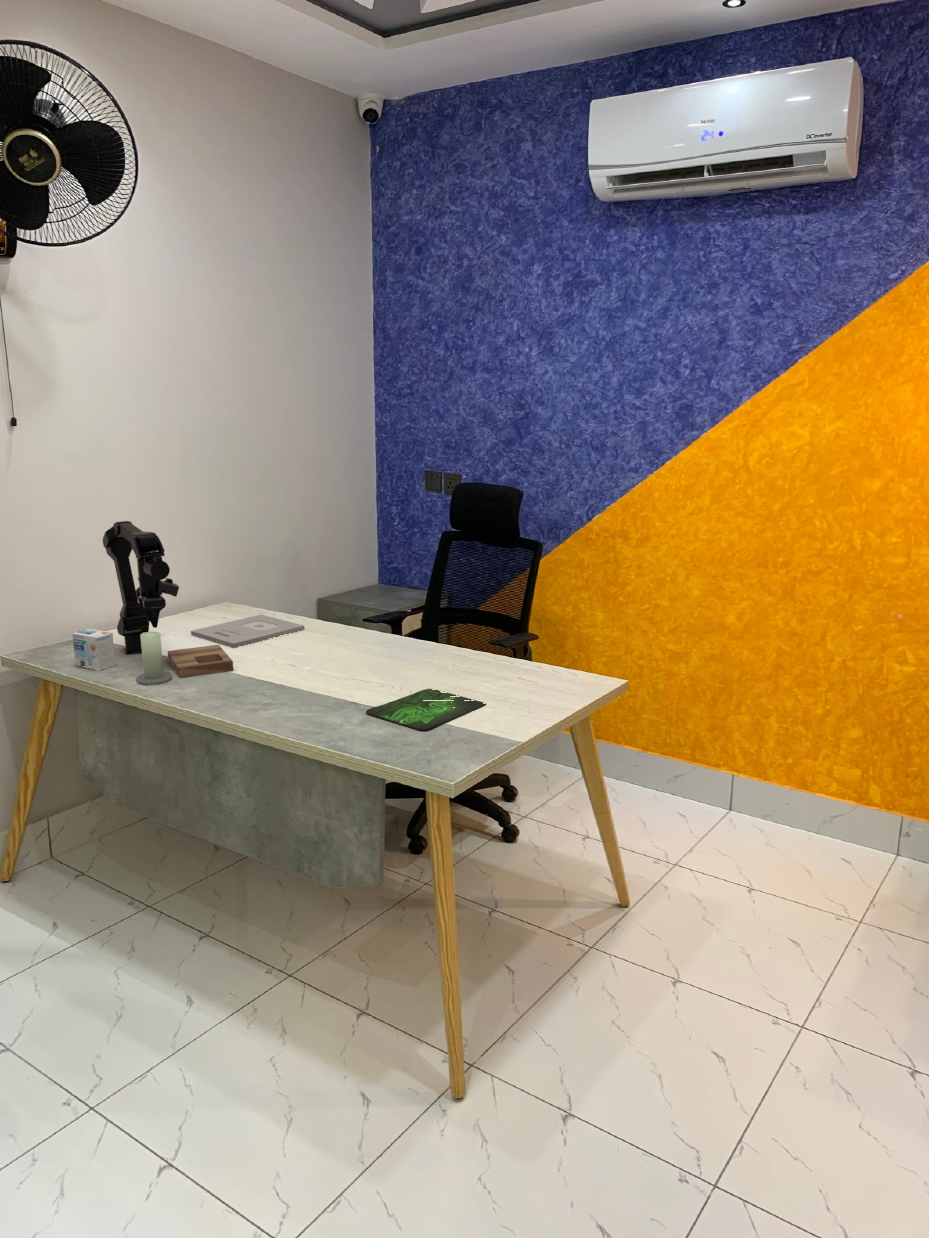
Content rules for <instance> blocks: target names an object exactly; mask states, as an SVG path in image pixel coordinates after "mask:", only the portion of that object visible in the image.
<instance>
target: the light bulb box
mask: <svg viewBox="0 0 929 1238" xmlns="http://www.w3.org/2000/svg"><path fill="white" fill-rule="evenodd" d="M113 634H114V633H113V632H112V631H111V632H110V631H105V630H99V629H94V628H86V629H84V630H79V631H76V632H73V633H72V641H73V650H74V659H75V660H74V662H75V665H76V664H77V665H80V666H86V667H91V668H94V669H104V668H105V667H110V666H113V665H115V664H116V656H115V654H116V653H115V647H114V637H113ZM113 667H114V666H113ZM110 668H111V667H110ZM104 670H105V669H104Z"/></svg>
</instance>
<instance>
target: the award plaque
mask: <svg viewBox="0 0 929 1238" xmlns="http://www.w3.org/2000/svg"><path fill="white" fill-rule="evenodd" d="M302 630H303V631H305V625H303V624H299V623H295V622H291V621H288V620H285V619H279V618H276V617H272V616H268V615H265V614H257V615H253V616H252V615H251V616H247V617H244V618H240V619H236V620H231V621H227V622H223V623H218V624H215V625H211V626H206V627H203V628H202V627H201V628H197V629H193V630H190V635H191V636H192V637H196V638H199V639H202V640H205V641H208V642H211V643H215V644H217V645H220V646H221V645H222V646H224V645H225V647H228V646H229V647H228V648H231V649H235V648H236V649H237V648H240V647H239V646H241V647H245V646H249V645H252V643H253V644H256V643H255V642H257V643H260V642H263V640H264V641H268V640H270V639H269V638H272V639H274V638H273V637H276V638H279V637H278V636H280V635H284V634H287V635H290V634H289V633H291V634H295V633H297V632H296V631H299V632H301V631H302ZM294 632H295V633H294ZM284 636H285V635H284ZM280 637H281V636H280ZM267 639H268V640H267ZM259 641H260V642H259ZM248 644H249V645H248ZM244 645H245V646H244Z"/></svg>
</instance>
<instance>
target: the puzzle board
mask: <svg viewBox="0 0 929 1238" xmlns="http://www.w3.org/2000/svg"><path fill="white" fill-rule="evenodd" d="M166 652H167V660H169V661H168V662H169V664H170V666H171V667H172V668H173V670H174V672H175V671H176V672H175V673H176V675H177V677H178V679H181V678H182V679H183V678H188V677H195V676H204V674H205V675H211V674H217V673H225V671H226V672H230V671H231V672H232V671H233V672H234V661H233V659H232V658H231V657H230V655H228V653H227V652H225V650H224V649H223V648H222V646H221V645H220V644H215V645H206V646H197V647H190V648H181V649H172V650H167V651H166Z"/></svg>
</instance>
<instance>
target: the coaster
mask: <svg viewBox="0 0 929 1238" xmlns="http://www.w3.org/2000/svg"><path fill="white" fill-rule="evenodd" d="M172 677H173V676H172V673H170V672H168V671H164V677H162V678H159V679H153V680H149V679H145V678H144V673H141V674H139V675H137V676H136V678H135V681H136V683H137V682H138V683H139V684H138V683H137V684H138V685H140V684H145V685H144V686H149V685H148V684H159V685H162V684H161V683H163V684H165V683H164V682H166V683H168V682H167V681H169V682H170V681H171V680H172V679H173V678H172Z"/></svg>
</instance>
